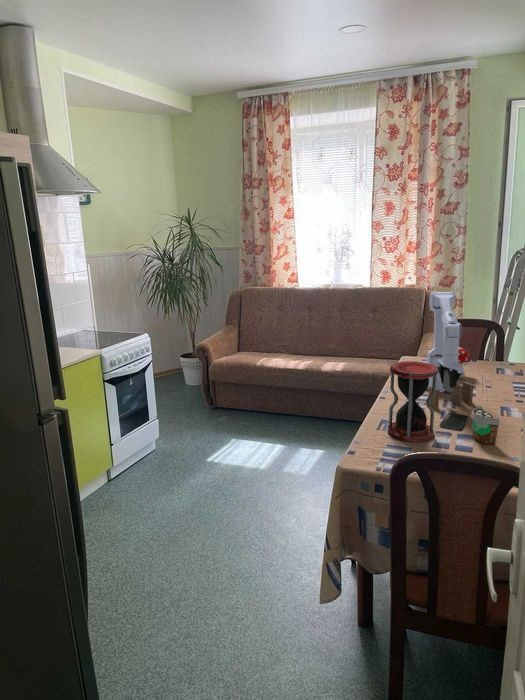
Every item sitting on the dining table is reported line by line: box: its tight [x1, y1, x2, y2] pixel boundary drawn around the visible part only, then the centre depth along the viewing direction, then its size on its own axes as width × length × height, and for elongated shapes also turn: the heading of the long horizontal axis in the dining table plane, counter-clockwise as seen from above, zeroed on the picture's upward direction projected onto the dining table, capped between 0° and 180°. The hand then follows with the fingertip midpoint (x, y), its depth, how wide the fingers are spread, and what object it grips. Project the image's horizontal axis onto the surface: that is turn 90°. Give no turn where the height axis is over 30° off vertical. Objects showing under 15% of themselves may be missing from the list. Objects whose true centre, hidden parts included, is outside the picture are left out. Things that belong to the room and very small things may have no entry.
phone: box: [439, 412, 470, 432], centre depth 195 cm, size 8×1×15 cm
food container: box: [470, 406, 500, 446], centre depth 178 cm, size 12×6×10 cm, turn 5°
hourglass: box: [387, 360, 438, 443], centre depth 183 cm, size 16×16×25 cm
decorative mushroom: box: [450, 346, 473, 379], centre depth 248 cm, size 14×14×15 cm
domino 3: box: [449, 383, 462, 406], centre depth 214 cm, size 2×5×8 cm, turn 17°
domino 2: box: [443, 370, 454, 393], centre depth 209 cm, size 2×5×8 cm, turn 18°
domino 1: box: [427, 386, 440, 409], centre depth 211 cm, size 2×5×8 cm, turn 18°
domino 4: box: [461, 381, 475, 404], centre depth 215 cm, size 2×5×8 cm, turn 17°
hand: (448, 385), depth 209 cm, fingers closed on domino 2, 5 cm apart
